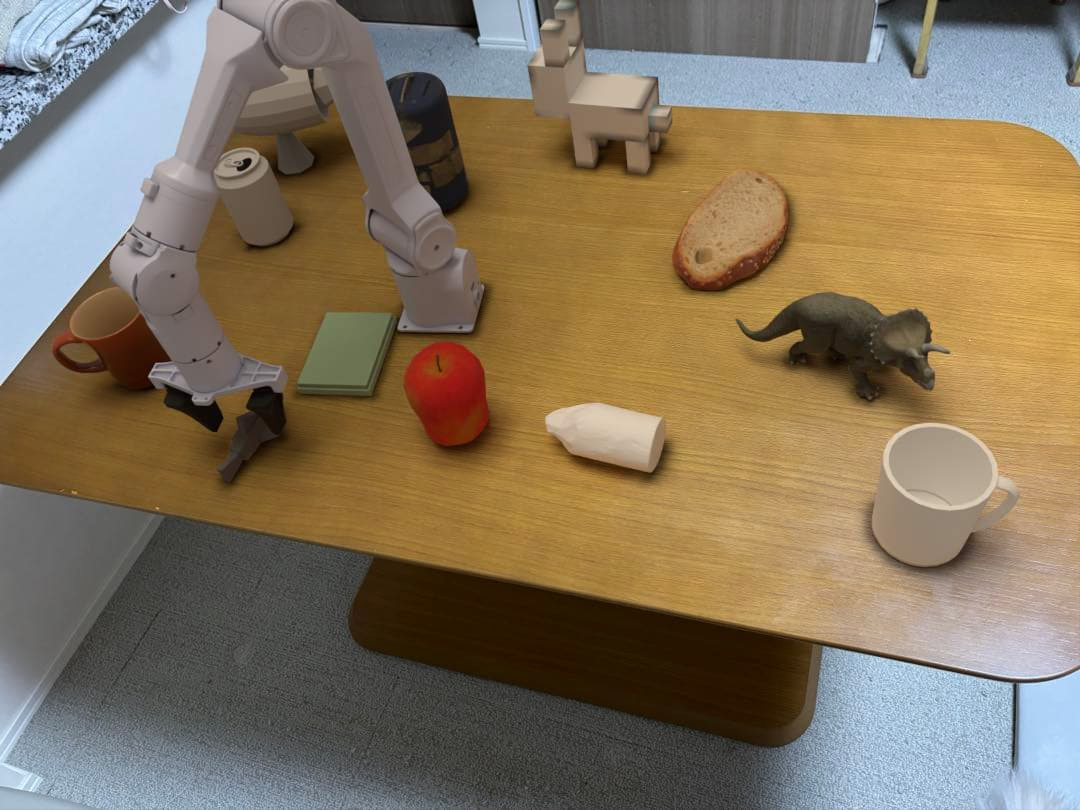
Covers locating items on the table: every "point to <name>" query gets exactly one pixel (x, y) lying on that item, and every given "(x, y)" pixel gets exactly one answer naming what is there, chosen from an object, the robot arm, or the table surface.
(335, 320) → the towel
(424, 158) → the canister
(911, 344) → the toy dinosaur
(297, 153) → the jet engine
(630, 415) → the white tapered cylinder
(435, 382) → the apple
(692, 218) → the bread slice
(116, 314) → the mug
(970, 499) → the mug
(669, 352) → the table surface
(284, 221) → the can
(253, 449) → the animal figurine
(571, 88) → the toy llama
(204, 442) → the table surface
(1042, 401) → the table surface
